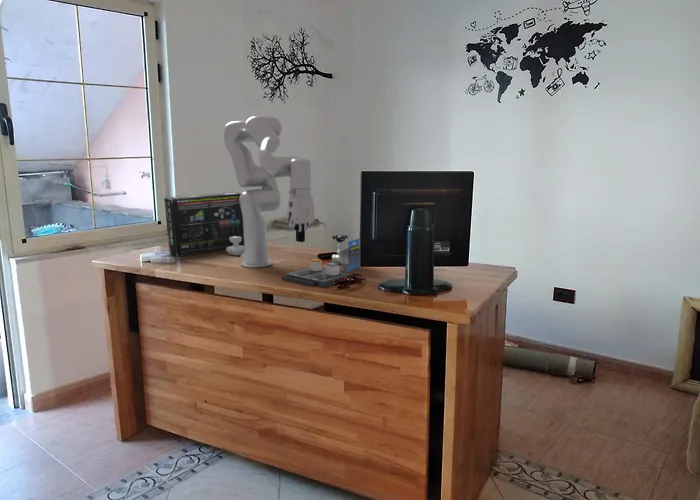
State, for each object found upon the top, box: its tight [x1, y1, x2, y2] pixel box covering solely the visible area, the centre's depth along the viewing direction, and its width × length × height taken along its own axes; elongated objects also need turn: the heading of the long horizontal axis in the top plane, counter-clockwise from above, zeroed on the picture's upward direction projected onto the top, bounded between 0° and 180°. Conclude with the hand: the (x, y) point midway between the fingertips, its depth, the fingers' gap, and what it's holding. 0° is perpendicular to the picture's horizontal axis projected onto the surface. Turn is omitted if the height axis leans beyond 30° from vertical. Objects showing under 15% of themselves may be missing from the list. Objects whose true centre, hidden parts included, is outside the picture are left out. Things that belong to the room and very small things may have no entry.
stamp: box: [225, 236, 244, 257], centre depth 257 cm, size 9×7×8 cm
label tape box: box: [340, 238, 360, 273], centre depth 224 cm, size 9×4×12 cm, turn 149°
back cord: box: [322, 267, 355, 276], centre depth 217 cm, size 18×1×1 cm, turn 49°
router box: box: [163, 191, 244, 257], centre depth 266 cm, size 36×11×27 cm, turn 127°
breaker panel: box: [284, 267, 350, 288], centre depth 210 cm, size 20×14×2 cm
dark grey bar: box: [281, 275, 315, 288], centre depth 205 cm, size 16×1×1 cm, turn 49°
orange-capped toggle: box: [308, 258, 323, 271], centre depth 215 cm, size 4×3×4 cm
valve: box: [331, 234, 349, 265], centre depth 234 cm, size 7×7×12 cm
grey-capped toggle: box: [325, 261, 340, 276], centre depth 208 cm, size 4×3×4 cm
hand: (300, 241), depth 209 cm, fingers closed
